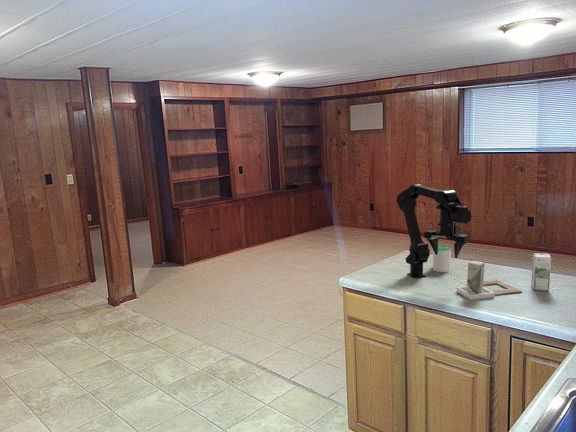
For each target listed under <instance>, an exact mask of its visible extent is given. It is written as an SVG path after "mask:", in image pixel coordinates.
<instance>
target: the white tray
mask: <svg viewBox="0 0 576 432" xmlns="http://www.w3.org/2000/svg"><path fill="white" fill-rule="evenodd" d="M484 287H485V286H483V293H482V294H470V293H468V292H467V285H465V286H457V287H456V293H457V294H458V295H460V296H462V297H464V298H466V299H468V300H470V301H477V300H487V299H494V298H495V296H494V294H495V293H494V292H492V291H493V290H491V289H489V288H487V287H485V288H484ZM486 288H487V289H486ZM488 289H489V290H488ZM490 290H491V291H490Z"/></svg>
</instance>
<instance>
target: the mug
mask: <svg viewBox="0 0 576 432" xmlns="http://www.w3.org/2000/svg"><path fill="white" fill-rule="evenodd" d="M451 250H452V249H451V247H446V246H438V254H437V255H435V253H434V250H433V249H432V271H434V272H438V273H448V272H451V263H452V262H451V258H452V251H451Z"/></svg>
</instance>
